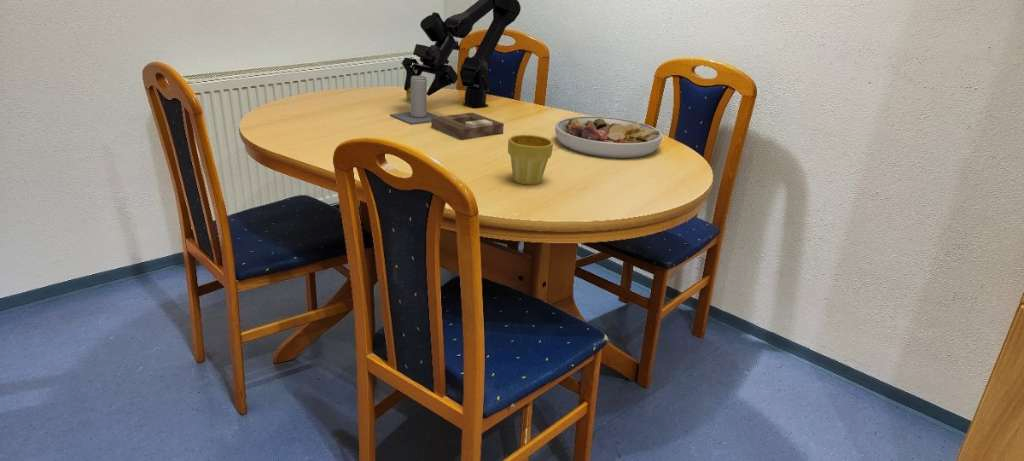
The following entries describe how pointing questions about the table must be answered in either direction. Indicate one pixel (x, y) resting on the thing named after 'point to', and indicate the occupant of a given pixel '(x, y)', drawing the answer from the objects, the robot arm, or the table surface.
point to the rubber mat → (411, 120)
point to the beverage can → (418, 96)
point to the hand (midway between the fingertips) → (416, 92)
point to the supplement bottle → (408, 95)
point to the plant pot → (529, 157)
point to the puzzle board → (467, 125)
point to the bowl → (608, 136)
